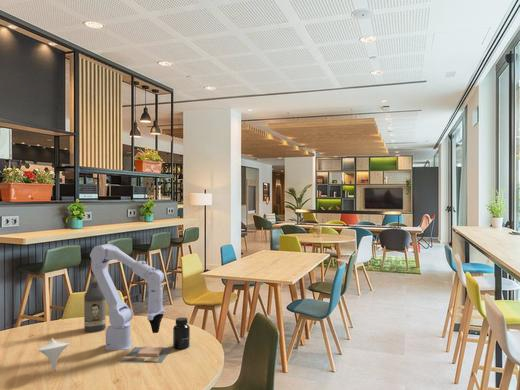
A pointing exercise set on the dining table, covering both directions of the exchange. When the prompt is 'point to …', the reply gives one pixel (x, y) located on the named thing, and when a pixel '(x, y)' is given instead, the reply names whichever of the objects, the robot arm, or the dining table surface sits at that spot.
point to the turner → (140, 359)
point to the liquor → (94, 308)
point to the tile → (150, 351)
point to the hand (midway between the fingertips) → (155, 332)
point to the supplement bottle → (181, 334)
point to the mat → (135, 354)
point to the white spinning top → (53, 351)
